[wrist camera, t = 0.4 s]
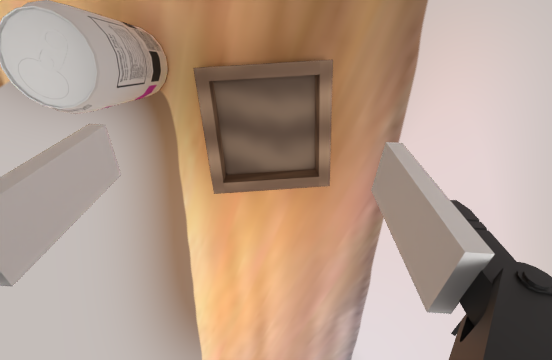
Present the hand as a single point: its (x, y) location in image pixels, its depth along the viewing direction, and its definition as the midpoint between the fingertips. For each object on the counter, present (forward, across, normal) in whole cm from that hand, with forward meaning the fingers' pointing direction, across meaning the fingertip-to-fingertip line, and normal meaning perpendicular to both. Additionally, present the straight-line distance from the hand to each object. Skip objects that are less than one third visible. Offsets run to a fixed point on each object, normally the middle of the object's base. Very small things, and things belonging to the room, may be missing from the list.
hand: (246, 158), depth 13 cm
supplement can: (+24, -17, -1) cm, 30 cm away
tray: (+24, 0, -8) cm, 25 cm away
